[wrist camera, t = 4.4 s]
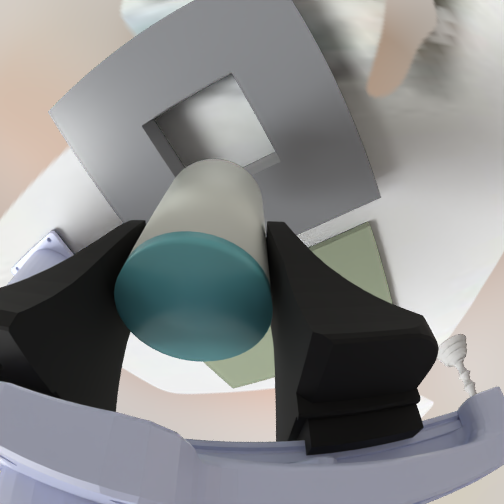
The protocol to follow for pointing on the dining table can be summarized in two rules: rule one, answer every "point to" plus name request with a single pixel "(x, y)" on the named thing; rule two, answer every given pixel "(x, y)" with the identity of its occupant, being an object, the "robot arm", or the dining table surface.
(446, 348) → the chalice
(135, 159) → the housing
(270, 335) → the mat
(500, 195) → the dining table surface
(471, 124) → the dining table surface
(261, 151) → the dining table surface
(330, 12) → the dining table surface
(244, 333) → the cylinder
